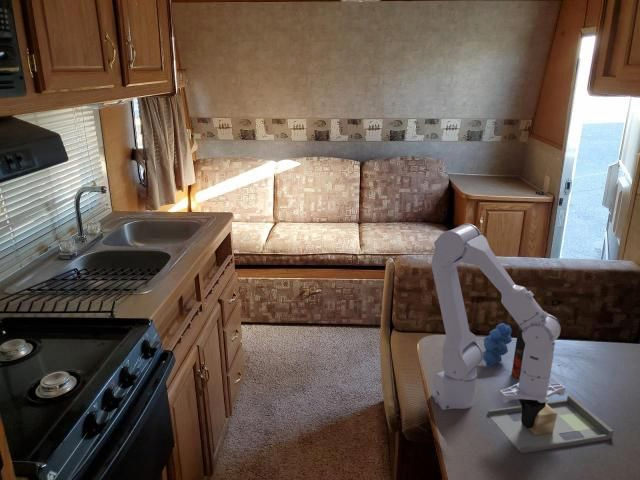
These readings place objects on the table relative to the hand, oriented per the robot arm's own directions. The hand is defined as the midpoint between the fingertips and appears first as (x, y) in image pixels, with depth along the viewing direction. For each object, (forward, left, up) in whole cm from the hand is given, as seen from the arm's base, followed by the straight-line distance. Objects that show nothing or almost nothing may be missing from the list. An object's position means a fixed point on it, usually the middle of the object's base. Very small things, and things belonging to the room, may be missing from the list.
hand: (526, 425), depth 107 cm
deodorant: (+12, +19, -3) cm, 23 cm away
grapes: (+9, +29, -3) cm, 31 cm away
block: (+3, 0, -1) cm, 3 cm away
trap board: (+5, 0, -3) cm, 6 cm away
